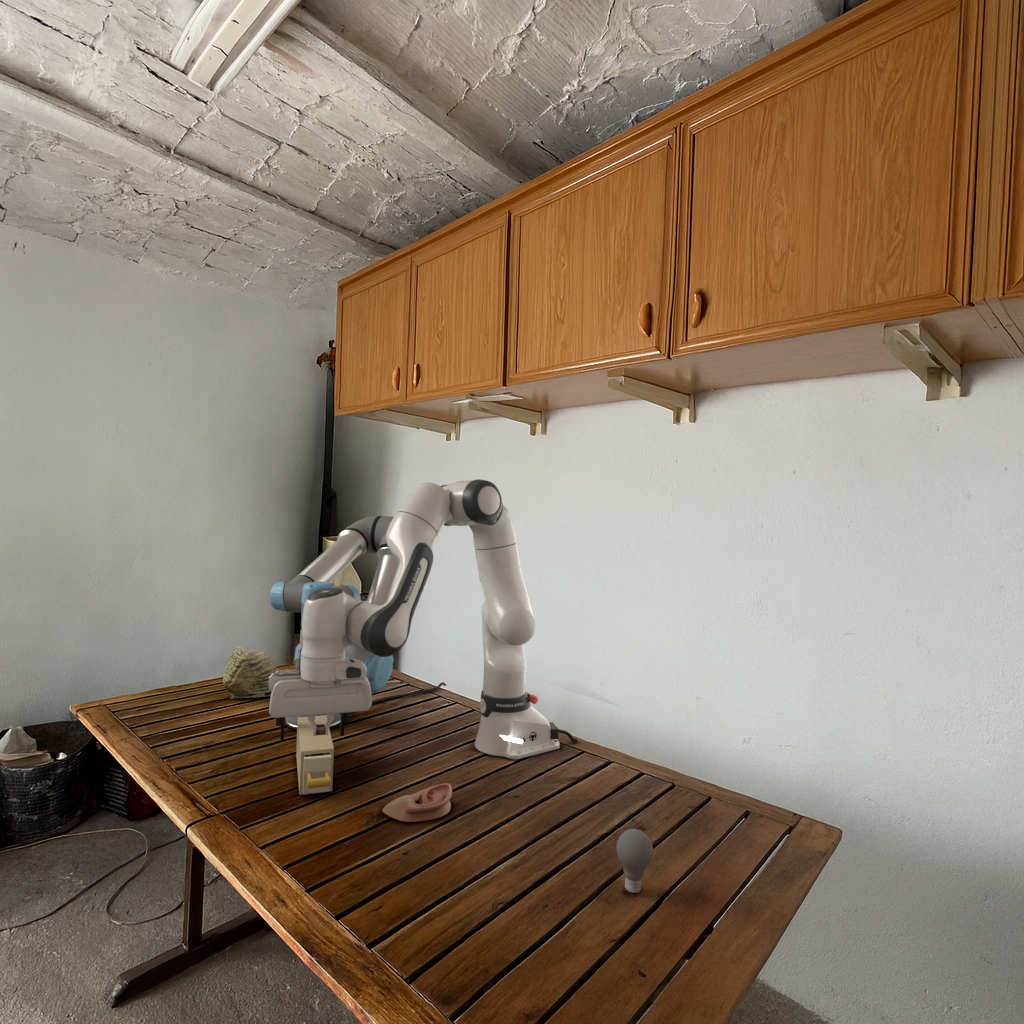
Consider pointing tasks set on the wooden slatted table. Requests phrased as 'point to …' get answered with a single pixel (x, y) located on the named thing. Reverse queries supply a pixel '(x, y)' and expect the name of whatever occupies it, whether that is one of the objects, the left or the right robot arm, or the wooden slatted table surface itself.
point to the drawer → (317, 773)
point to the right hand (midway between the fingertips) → (320, 734)
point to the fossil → (248, 673)
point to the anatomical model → (421, 804)
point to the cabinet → (311, 745)
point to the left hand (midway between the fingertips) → (312, 736)
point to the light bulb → (634, 857)
